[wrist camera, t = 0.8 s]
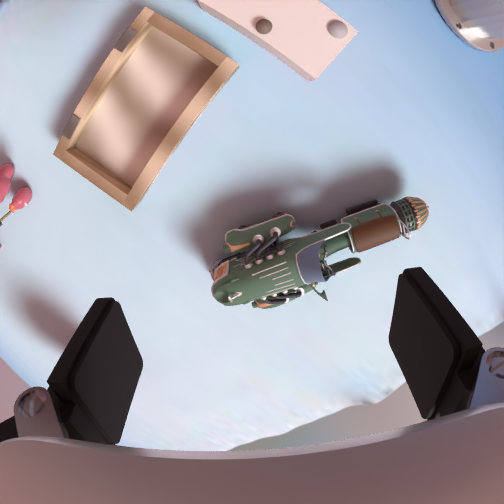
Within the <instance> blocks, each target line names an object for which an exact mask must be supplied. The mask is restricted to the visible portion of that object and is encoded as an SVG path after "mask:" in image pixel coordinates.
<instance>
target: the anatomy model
mask: <svg viewBox="0 0 504 504" xmlns="http://www.w3.org/2000/svg"><path fill="white" fill-rule="evenodd" d="M13 174H14V167H13V166H12V164H4V165H3V166H1V167H0V203H1V202H2V201H3V200H4V198H5V196H6V195H7V193H8V192H9V190H10V188H11V182H10V179H11V178H12V176H13ZM31 197H32V192H31V190H30V189H29V188H22V189H20V190H18V191H17V193H16V194H15V195H14V197H13V199H12V203H11V204H10V205H9V209H10V211H9V212H8V213H7V214H6V215H5V216H3V217H2V218H1V219H0V226H1V225H2V222H1V221H2V220H3V219H5V218H6V217H7V216H8V215H9V214H10V213H11V212H12V213H13V212H15V211H17V210H18V209H21V208H23V207H25V206H26V205H27V204H28V203H29V202H30V200H31ZM0 248H1V245H0Z"/></svg>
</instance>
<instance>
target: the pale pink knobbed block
mask: <svg viewBox="0 0 504 504" xmlns="http://www.w3.org/2000/svg"><path fill="white" fill-rule="evenodd" d="M197 1H198V3H199V4H200V6H201V8H202V10H203V11H205V12H206V13H208V14H210V15H212V16H213V17H215V18H217V19H218V20H220V21H222V22H223V23H225V24H227V25H228V26H230V27H232V28H233V29H235V30H236V31H238V32H239V33H241V34H242V35H244V36H246V37H247V38H249V39H250V40H252V41H253V42H255V43H256V44H258V45H259V46H260V47H262V48H263V49H265V50H266V51H268V52H269V53H270V54H272V55H273V56H275V57H276V58H277V59H279V60H280V61H282V62H283V63H284V64H286V65H287V66H288V67H290V68H291V69H292V70H294V71H295V72H296V73H298V74H299V75H300V76H301V77H303V78H304V79H305V80H307V81H308V82H310V81H313V80H316V79H317V78H318V77H319V75H320V74H321V73H322V72H323V71H324V70H325V68H326V67H327V66H328V65H329V64H330V63H331V62H332V61H333V59H334V58H335V57H336V56H337V55H338V54H339V53H340V52H341V50H342V49H343V48H344V47H345V46H346V45H347V44H348V43H349V42H350V41H351V39H352V38H353V37H354V36H355V35H356V34H357V33H358V31H357V30H355V29H354V28H353V27H352V26H351V25H349V24H348V23H347V22H346V21H345V20H343V19H342V18H341V17H340V16H338V15H337V14H336V13H334V12H333V11H332V10H331V9H329V8H328V7H327V6H325V5H324V4H323V3H321V2H320V1H318V0H197Z"/></svg>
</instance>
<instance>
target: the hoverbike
mask: <svg viewBox="0 0 504 504" xmlns="http://www.w3.org/2000/svg"><path fill="white" fill-rule="evenodd" d="M428 207H429V206H426V203H425V202H424V201H423V200H421V199H419V198H415V197H405V198H403V199H401V200H398V201H396V202H392V203H391V204H390V205H389V204H387V203H382V204H381V203H378V200H377V199H375V200H372V201H369V202H367V203H364V204H361V205H358V206H356V207H353V208H350V209H347V210H346V214H347V216H346V217H344V218H342V219H341V223H340V224H337V221H336V220H332V221H330V222H327V223H324V224H321V225H320V228H321V230H320V231H316V230H314V231H313V232H311V234H309V235H306V236H303V237H298V238H293V239H287V240H285V241H282V242H280V243H279V241H278V238H279V237H281V236H283V235H285V234H287V233H288V232H290V231H291V230H293V229H294V227H295V225H296V222H295V219H294V217H293V216H292V215H290V214H286V213H284V212H278V213H277V212H276V214H274V216H273V217H272V219H271V220H268V221H265V222H262V223H260V224H257V225H256V224H253V225H251V226H247V225H244V226H240V227H239V228H238V229H232V230H230V231H228V232H227V233H226V235H225V242H226V245H225V246H223V248H224V251H225V252H226V253H227V252H233V253H238V254H235V255H233V256H230V257H227V258H225V259H222V260H221V259H219V260H217V261H216V262H215V263H214V264H213V266H212V268H211V269H210V270H209V272H211V277H212V279H213V281H214V283H213V285H212V287H211V291H212V295H213V297H214V298H215V299H216V300H217V301H218V302H220V303H222V304H224V305H225V306H233V305H239V304H247V303H249V302H250V301H253V300H254V302H252V306H253V308H256V307H258V308H262V309H267V308H274V307H277V306H280V305H282V304H285V303H287V302H289V301H291V300H293V299H295V298H297V297H300V296H302V295H303V294H305V293H307V292H309V291H311V290H312V289H313V290H314V291H315V292H316V293H317V294H319V295H320V296H321V297H322V298H324V299H325V300H326V301H328V300H327V297H326V294H325V291H324V290H323V292H322V293H318V292H317V291H316V290H315V287H316V285H317V284H318V282H326V281H328V279H329V278H330V277H331V276H333V275H336V274H337V273H340V272H342V271H345V270H347V269H350V268H352V267H355V266H357V265H359V264H360V263H361V260H360V259H359V258H348V259H346V260H343V261H340V262H337V263H334V264H332V265H329V266H328V265H327V264H326V260H325V258H326V257H328V256H330V255H331V254H333V253H335V252H337V251H339V250H342V249H344V248H347V247H349V249H350V250H351V252H352V253H354V252H362V251H365V250H368V249H371V248H373V247H376V246H379V245H381V244H384V243H386V242H389V241H391V240H394V239H396V238H399V237H400V236H403V237H405V238H406V239H408V240H409V239H410V237H411V236H410V231H414V230H417V229H419V228H420V227H421V226H422V225H423V224H424V223H425V221H426V220H427V217H428V213H429V211H428ZM406 233H409V238H407V237H406ZM273 242H274V245H272V243H273ZM257 248H258V249H257ZM256 249H257V250H256ZM255 250H256V251H255ZM252 253H253V254H252ZM240 254H244V257H243V258H241V259H239V255H240ZM234 256H237V258H233V259H231V260H227V261H225V262H224V260H226V259H229V258H232V257H234ZM221 262H222V264H221V265H220V263H221ZM217 265H218V267H217V268H216V269H214V268H215V267H216V266H217Z"/></svg>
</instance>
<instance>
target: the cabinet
mask: <svg viewBox="0 0 504 504" xmlns="http://www.w3.org/2000/svg"><path fill="white" fill-rule="evenodd" d="M238 68H239V66H238V64H237V63H236V62H235V61H233V60H232V59H230V58H229V57H227V56H226V55H224V54H223V53H221V52H220V51H218V50H217V49H215V48H214V47H212V46H211V45H209V44H208V43H206V42H205V41H203V40H202V39H200V38H198V37H197V36H195V35H194V34H192V33H190V32H189V31H187V30H185V29H184V28H182V27H180V26H179V25H177V24H175V23H174V22H172V21H170V20H168V19H167V18H165V17H163V16H161V15H160V14H158V13H156V12H154V11H152V10H150V9H149V8H147V7H145V8H144V9H143V10H142V11H141V12H140V14H139V15H138V16H137V17H136V19H135V20H134V21H133V23H132V24H131V25H130V26H129V27H128V28H127V30H126V31H125V32H124V34H123V35H122V37H121V38H120V39H119V41H118V42H117V43H116V45H115V46H114V48H113V50H112V51H111V53H110V54H109V56H108V57H107V59H106V60H105V62H104V63H103V65H102V66H101V68H100V69H99V71H98V72H97V74H96V76H95V77H94V79H93V80H92V82H91V84H90V85H89V87H88V89H87V90H86V92H85V94H84V95H83V97H82V99H81V101H80V102H79V104H78V106H77V108H76V110H75V111H74V113H73V114H72V116H71V118H70V120H69V122H68V124H67V126H66V128H65V130H64V132H63V134H62V137H61V139H60V141H59V143H58V145H57V147H56V149H55V151H54V153H53V155H55V156H56V157H57V158H59V159H60V160H62V161H63V162H64V163H66V164H67V165H68V166H70V167H71V168H72V169H74V170H75V171H76V172H78V173H79V174H80V175H82V176H83V177H85V178H86V179H87V180H89V181H90V182H91V183H93V184H94V185H96V186H97V187H98V188H100V189H101V190H103V191H104V192H105V193H107V194H108V195H109V196H111V197H112V198H114V199H115V200H116V201H118V202H119V203H121V204H122V205H123V206H125V207H126V208H128V209H129V210H131V211H132V210H133V209H134V208H135V207H136V206H137V205H138V204H139V203H140V202H141V200H142V199H143V197H144V196H145V194H146V192H147V191H148V189H149V188H150V186H151V185H152V183H153V182H154V180H155V179H156V177H157V176H158V174H159V173H160V171H161V170H162V168H163V167H164V165H165V164H166V162H167V161H168V160H169V158H170V157H171V155H172V154H173V152H174V151H175V149H176V148H177V147H178V145H179V144H180V142H181V141H182V140H183V138H184V137H185V136H186V134H187V133H188V131H189V130H190V129H191V127H192V126H193V125H194V123H195V122H196V121H197V119H198V118H199V117H200V115H201V114H202V113H203V112H204V110H205V109H206V108H207V106H208V105H209V104H210V103H211V101H212V100H213V99H214V97H215V96H216V95H217V94H218V92H219V91H220V90H221V89H222V88H223V86H224V85H225V84H226V83H227V81H228V80H229V79H230V78H231V77H232V75H233V74H234V73H235V72H236V71H237V69H238Z"/></svg>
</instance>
